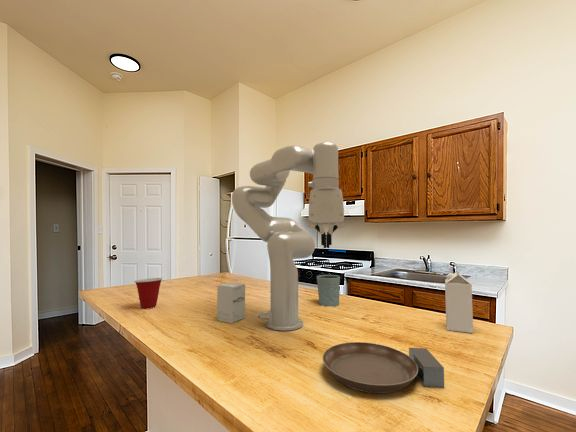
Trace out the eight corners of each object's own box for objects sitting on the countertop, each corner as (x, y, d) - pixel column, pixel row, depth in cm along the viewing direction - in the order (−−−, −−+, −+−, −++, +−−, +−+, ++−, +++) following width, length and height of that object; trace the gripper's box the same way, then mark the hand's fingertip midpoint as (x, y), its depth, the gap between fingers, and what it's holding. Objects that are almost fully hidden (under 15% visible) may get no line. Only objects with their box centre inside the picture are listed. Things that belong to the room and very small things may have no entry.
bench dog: (424, 386, 62) (423, 366, 62) (409, 364, 72) (408, 347, 72) (444, 387, 61) (443, 367, 61) (426, 365, 71) (426, 348, 71)
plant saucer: (441, 391, 60) (440, 374, 60) (348, 408, 55) (348, 389, 55) (382, 351, 80) (382, 338, 80) (310, 360, 75) (310, 346, 75)
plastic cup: (153, 302, 134) (153, 275, 134) (167, 306, 127) (167, 277, 128) (128, 307, 125) (129, 279, 126) (142, 312, 119) (142, 281, 119)
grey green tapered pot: (342, 307, 125) (341, 278, 125) (317, 307, 125) (317, 278, 125) (338, 301, 135) (338, 274, 135) (315, 301, 135) (315, 274, 136)
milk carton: (470, 327, 99) (468, 269, 100) (473, 333, 92) (471, 272, 93) (446, 324, 102) (444, 268, 103) (447, 330, 95) (445, 270, 96)
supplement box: (231, 323, 103) (232, 286, 104) (216, 320, 107) (216, 284, 108) (245, 318, 110) (245, 283, 110) (230, 315, 114) (230, 281, 114)
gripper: (299, 184, 85) (300, 248, 84) (352, 183, 84) (353, 248, 83) (301, 187, 93) (301, 247, 92) (350, 187, 91) (350, 247, 91)
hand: (326, 247), depth 88 cm, fingers closed
